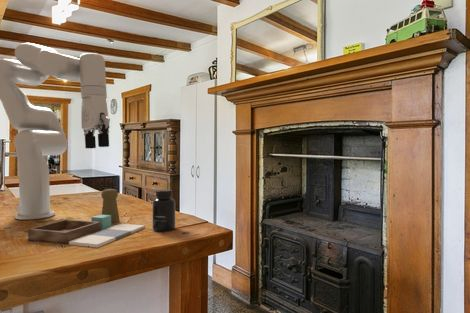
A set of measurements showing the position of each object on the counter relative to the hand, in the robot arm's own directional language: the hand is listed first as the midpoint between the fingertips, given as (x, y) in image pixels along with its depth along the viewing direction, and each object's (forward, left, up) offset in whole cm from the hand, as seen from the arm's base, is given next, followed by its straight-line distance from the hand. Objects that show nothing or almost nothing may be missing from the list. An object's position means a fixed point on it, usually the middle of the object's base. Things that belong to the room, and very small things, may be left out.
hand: (97, 147), depth 109 cm
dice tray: (0, -13, -25) cm, 28 cm away
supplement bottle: (+23, +2, -25) cm, 34 cm away
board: (+12, -9, -25) cm, 29 cm away
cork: (0, +6, -25) cm, 26 cm away
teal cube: (+4, -3, -25) cm, 26 cm away
